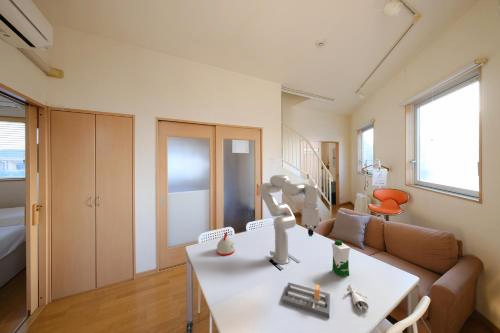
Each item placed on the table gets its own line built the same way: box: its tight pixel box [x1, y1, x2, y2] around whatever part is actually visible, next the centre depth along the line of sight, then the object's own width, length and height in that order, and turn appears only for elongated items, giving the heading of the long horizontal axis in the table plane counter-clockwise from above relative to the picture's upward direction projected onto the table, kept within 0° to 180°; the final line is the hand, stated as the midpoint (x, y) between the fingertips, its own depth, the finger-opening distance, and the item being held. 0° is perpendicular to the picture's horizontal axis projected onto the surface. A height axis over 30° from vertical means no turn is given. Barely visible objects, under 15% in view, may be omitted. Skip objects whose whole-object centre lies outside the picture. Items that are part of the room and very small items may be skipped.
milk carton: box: [331, 239, 351, 278], centre depth 116 cm, size 9×9×20 cm
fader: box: [313, 284, 321, 301], centre depth 91 cm, size 3×4×6 cm
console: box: [281, 281, 331, 319], centre depth 94 cm, size 22×14×3 cm, turn 65°
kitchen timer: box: [216, 231, 235, 257], centre depth 145 cm, size 14×14×15 cm
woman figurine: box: [343, 284, 370, 311], centre depth 94 cm, size 12×4×18 cm
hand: (310, 235), depth 109 cm, fingers closed
